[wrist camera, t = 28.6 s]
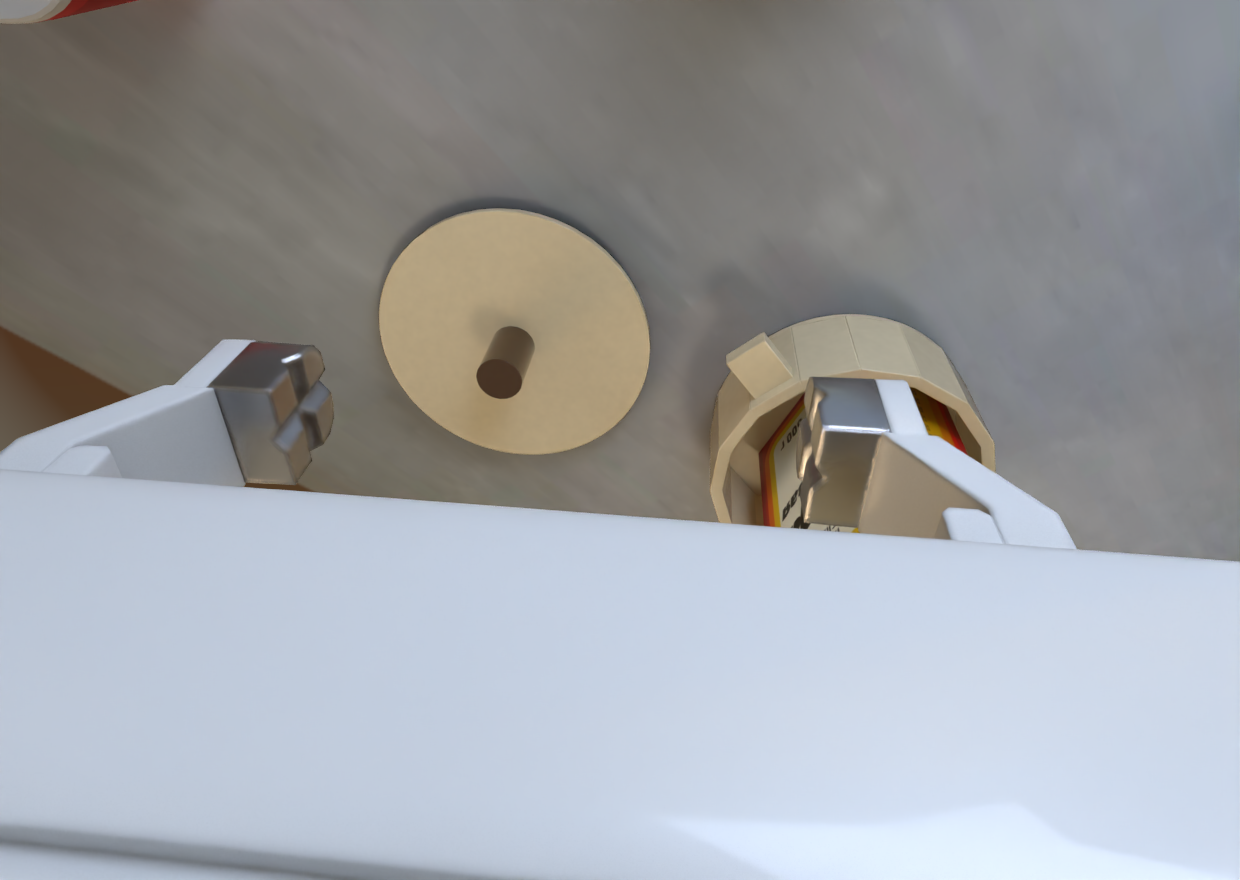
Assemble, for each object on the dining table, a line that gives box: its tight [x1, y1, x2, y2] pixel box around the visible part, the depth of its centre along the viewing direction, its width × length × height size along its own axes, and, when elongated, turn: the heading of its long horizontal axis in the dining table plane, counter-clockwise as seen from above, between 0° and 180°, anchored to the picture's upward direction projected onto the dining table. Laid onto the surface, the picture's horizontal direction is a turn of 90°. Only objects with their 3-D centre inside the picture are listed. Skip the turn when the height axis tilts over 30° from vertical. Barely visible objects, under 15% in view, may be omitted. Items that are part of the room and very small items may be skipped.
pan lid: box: [379, 208, 650, 455], centre depth 46 cm, size 16×16×5 cm
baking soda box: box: [758, 387, 968, 533], centre depth 42 cm, size 10×6×16 cm
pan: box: [710, 314, 996, 526], centre depth 47 cm, size 15×21×6 cm
